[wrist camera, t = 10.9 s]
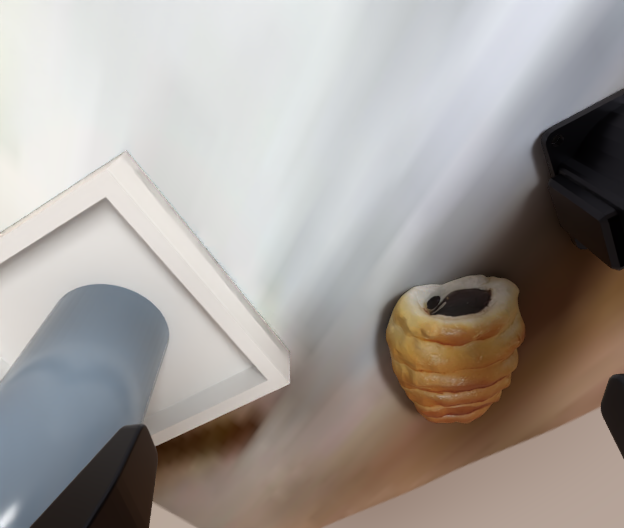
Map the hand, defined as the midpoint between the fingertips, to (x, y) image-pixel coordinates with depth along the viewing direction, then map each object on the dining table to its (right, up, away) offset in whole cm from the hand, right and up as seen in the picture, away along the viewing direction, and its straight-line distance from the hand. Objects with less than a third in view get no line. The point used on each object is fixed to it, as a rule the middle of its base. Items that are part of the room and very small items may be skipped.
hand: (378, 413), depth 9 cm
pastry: (+6, -1, +16) cm, 18 cm away
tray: (-11, 0, +14) cm, 18 cm away
